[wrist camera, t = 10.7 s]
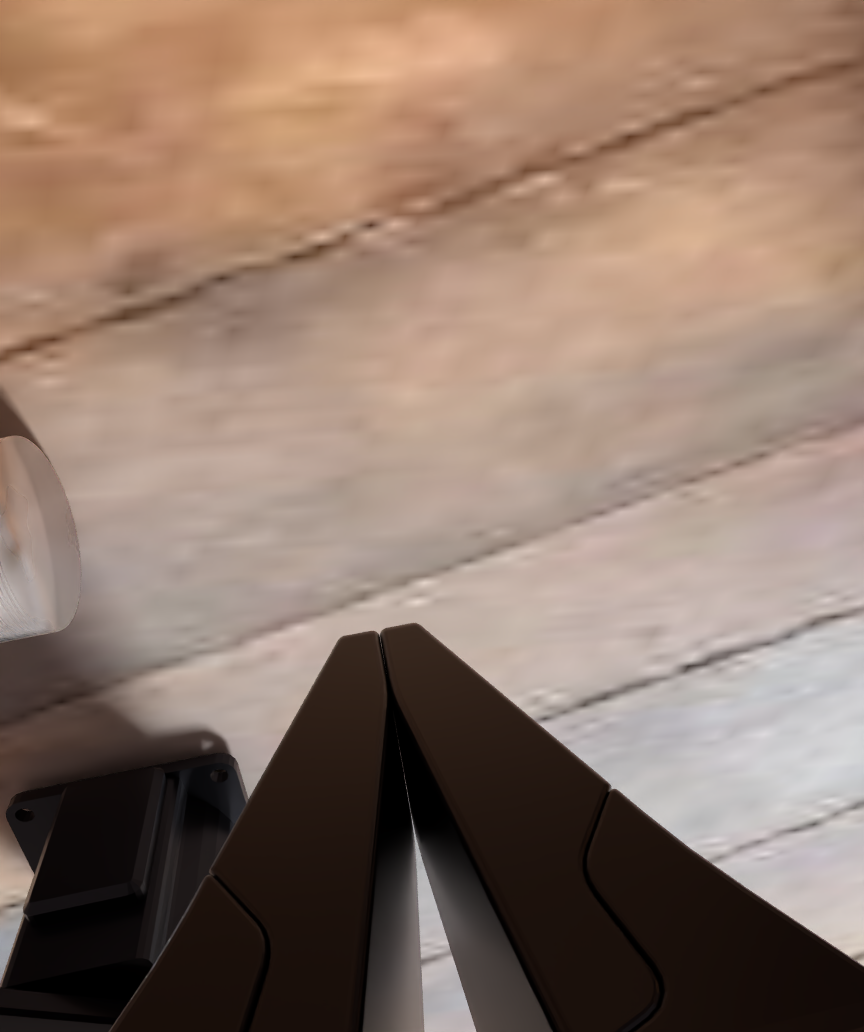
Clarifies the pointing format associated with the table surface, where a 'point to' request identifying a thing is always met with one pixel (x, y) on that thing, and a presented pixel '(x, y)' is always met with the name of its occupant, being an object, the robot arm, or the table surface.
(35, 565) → the air tube
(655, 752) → the table surface
